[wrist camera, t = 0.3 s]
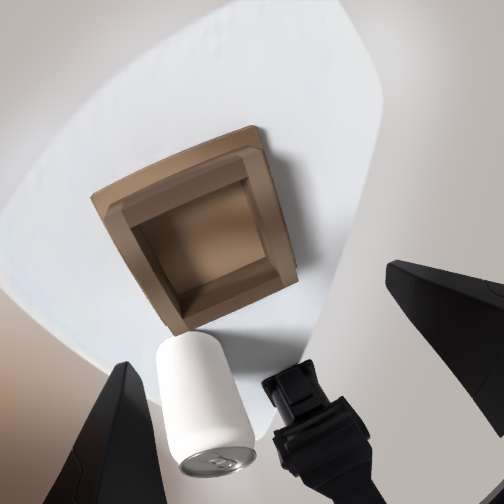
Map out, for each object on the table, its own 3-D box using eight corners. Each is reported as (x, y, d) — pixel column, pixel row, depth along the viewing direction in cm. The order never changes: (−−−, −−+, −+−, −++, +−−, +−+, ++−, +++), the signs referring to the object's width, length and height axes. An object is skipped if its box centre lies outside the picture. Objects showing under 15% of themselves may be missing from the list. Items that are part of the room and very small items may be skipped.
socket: (292, 261, 26) (313, 285, 22) (164, 318, 24) (169, 351, 21) (251, 125, 19) (272, 128, 16) (92, 193, 18) (80, 212, 15)
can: (202, 317, 25) (241, 435, 15) (232, 357, 29) (273, 458, 19) (142, 347, 25) (154, 465, 15) (178, 382, 28) (202, 485, 18)
